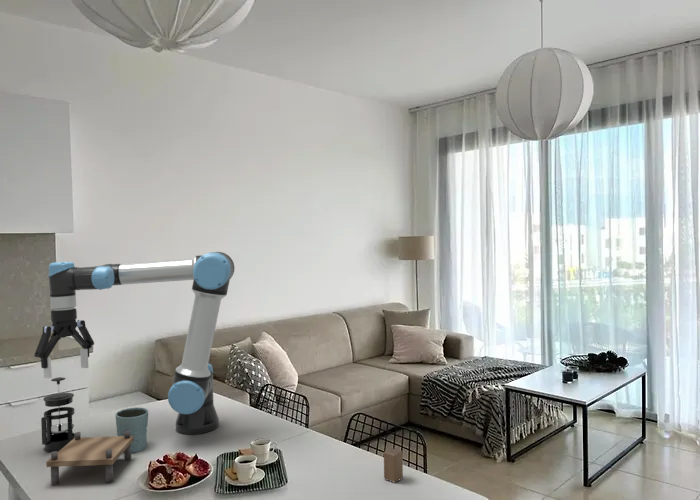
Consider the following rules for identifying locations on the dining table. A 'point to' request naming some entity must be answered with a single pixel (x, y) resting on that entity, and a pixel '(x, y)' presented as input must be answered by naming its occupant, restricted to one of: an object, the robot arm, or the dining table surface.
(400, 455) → the wooden block
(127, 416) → the teal plant pot
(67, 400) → the french press
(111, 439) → the wooden board with feet
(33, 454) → the dining table surface
